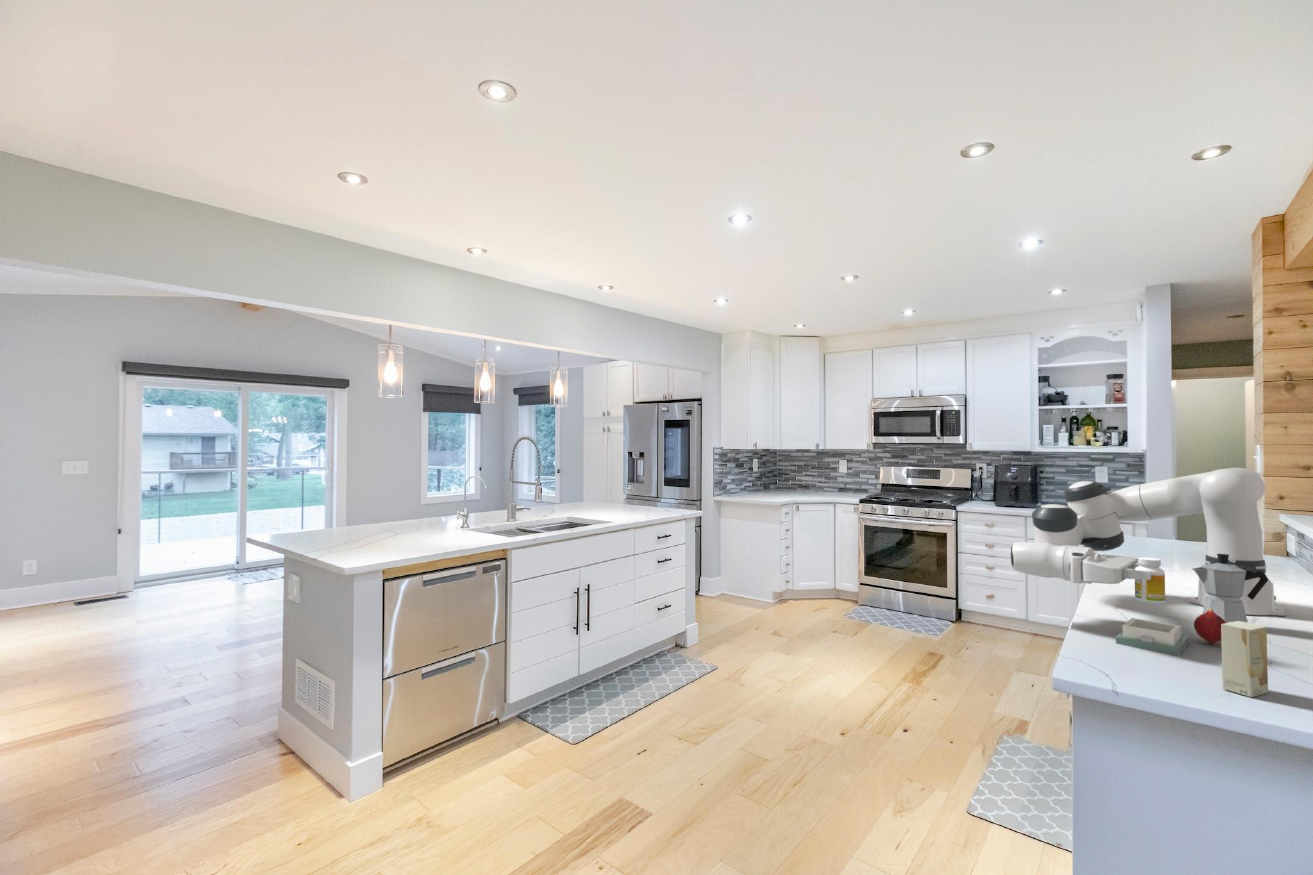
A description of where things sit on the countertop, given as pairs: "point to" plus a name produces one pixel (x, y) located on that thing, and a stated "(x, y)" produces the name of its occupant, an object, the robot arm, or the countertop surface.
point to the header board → (1153, 636)
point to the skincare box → (1244, 658)
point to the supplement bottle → (1150, 581)
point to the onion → (1209, 626)
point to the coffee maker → (1228, 588)
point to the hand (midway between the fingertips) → (1154, 573)
